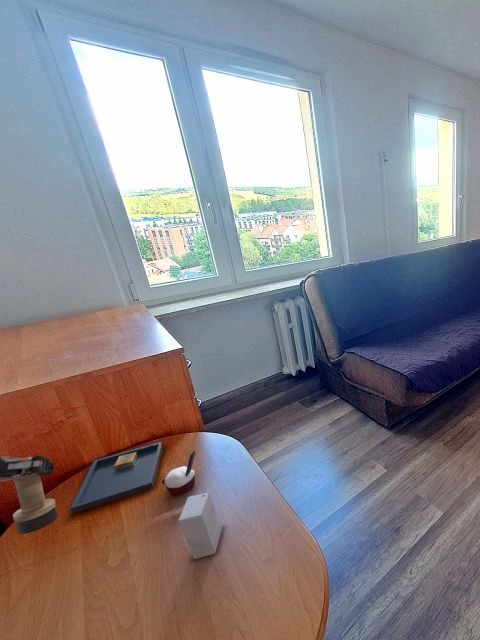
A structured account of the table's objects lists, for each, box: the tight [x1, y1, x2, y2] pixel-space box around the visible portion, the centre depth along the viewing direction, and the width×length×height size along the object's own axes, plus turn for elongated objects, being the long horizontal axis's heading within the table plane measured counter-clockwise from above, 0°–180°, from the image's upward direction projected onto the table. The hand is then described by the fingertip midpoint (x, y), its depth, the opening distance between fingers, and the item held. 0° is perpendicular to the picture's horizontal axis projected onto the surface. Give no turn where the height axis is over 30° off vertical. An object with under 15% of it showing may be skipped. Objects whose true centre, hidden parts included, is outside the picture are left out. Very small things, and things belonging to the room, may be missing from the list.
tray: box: [70, 441, 164, 514], centre depth 91 cm, size 16×18×2 cm
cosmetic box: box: [178, 491, 223, 560], centre depth 72 cm, size 6×4×12 cm
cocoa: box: [161, 450, 196, 496], centre depth 85 cm, size 10×6×12 cm, turn 70°
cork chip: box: [114, 452, 138, 470], centre depth 95 cm, size 4×4×2 cm
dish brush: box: [12, 456, 58, 535], centre depth 63 cm, size 5×5×13 cm
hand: (39, 471), depth 65 cm, fingers closed on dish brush, 3 cm apart
